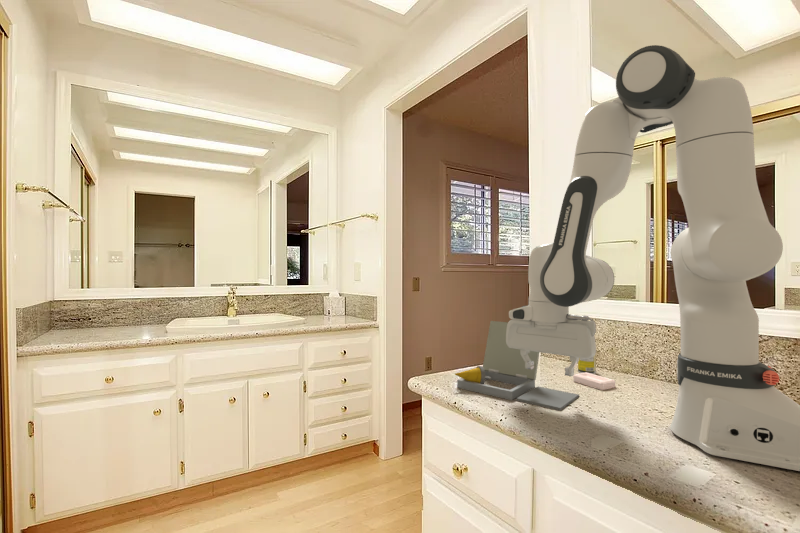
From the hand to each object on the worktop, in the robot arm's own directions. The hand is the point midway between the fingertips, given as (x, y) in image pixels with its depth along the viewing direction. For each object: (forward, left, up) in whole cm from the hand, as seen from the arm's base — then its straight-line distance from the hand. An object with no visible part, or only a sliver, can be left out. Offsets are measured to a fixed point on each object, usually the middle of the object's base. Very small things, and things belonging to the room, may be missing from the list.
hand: (548, 372), depth 95 cm
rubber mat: (0, 0, -6) cm, 6 cm away
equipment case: (+14, 0, -6) cm, 15 cm away
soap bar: (-4, -19, -7) cm, 21 cm away
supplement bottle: (+1, -30, -7) cm, 31 cm away
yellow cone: (+15, 0, -4) cm, 15 cm away
